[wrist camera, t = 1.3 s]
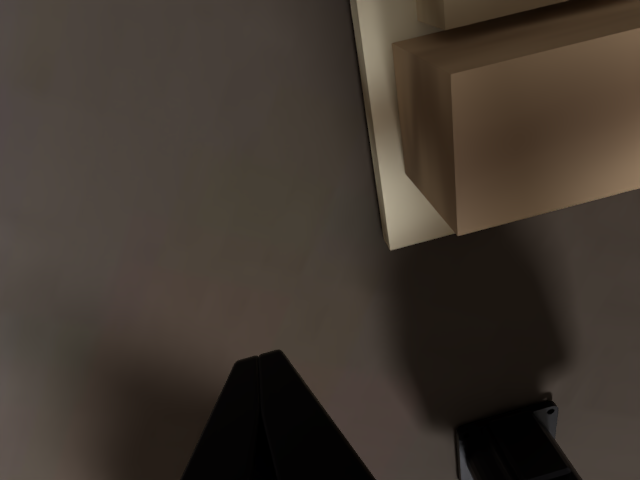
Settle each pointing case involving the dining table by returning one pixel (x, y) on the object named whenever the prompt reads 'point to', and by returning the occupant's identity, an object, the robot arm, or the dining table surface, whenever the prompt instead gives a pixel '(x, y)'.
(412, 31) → the gauge bed
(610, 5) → the wooden slider block
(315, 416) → the robot arm
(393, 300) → the dining table surface
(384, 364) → the dining table surface
